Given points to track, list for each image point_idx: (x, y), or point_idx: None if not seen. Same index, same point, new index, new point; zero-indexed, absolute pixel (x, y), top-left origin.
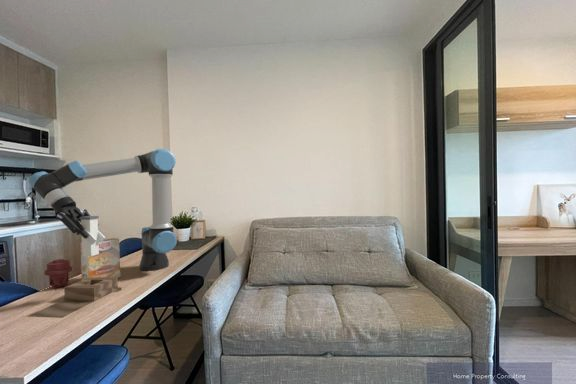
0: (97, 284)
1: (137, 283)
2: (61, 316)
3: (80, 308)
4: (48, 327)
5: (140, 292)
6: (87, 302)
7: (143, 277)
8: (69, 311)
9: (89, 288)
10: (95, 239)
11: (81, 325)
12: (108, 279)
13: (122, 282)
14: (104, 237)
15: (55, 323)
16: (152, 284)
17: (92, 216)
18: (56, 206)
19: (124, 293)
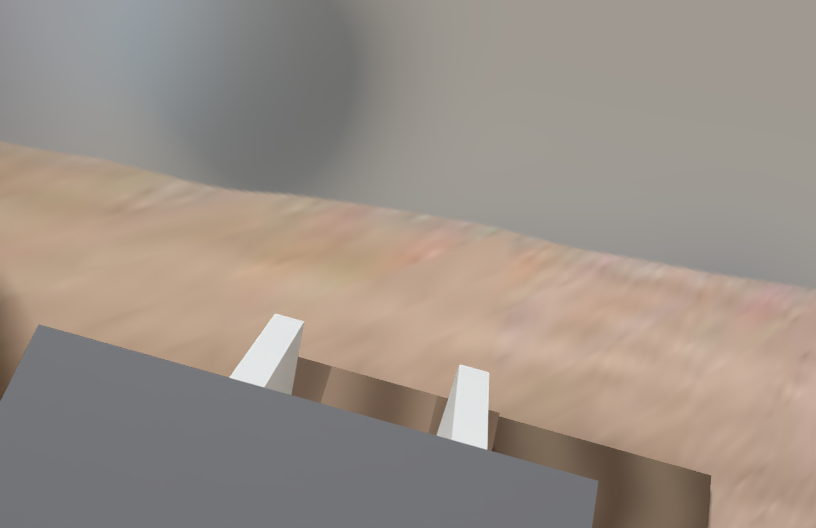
0: (421, 427)
1: (154, 295)
2: (698, 490)
3: (594, 443)
4: (776, 500)
5: (350, 220)
6: (507, 450)
7: (11, 299)
8: (634, 485)
9: (491, 448)
10: (477, 378)
11: (752, 341)
12: (309, 399)
13: None
14: (288, 323)
15: (733, 493)
16: (213, 194)
17: (279, 508)
18: None
19: (344, 308)
